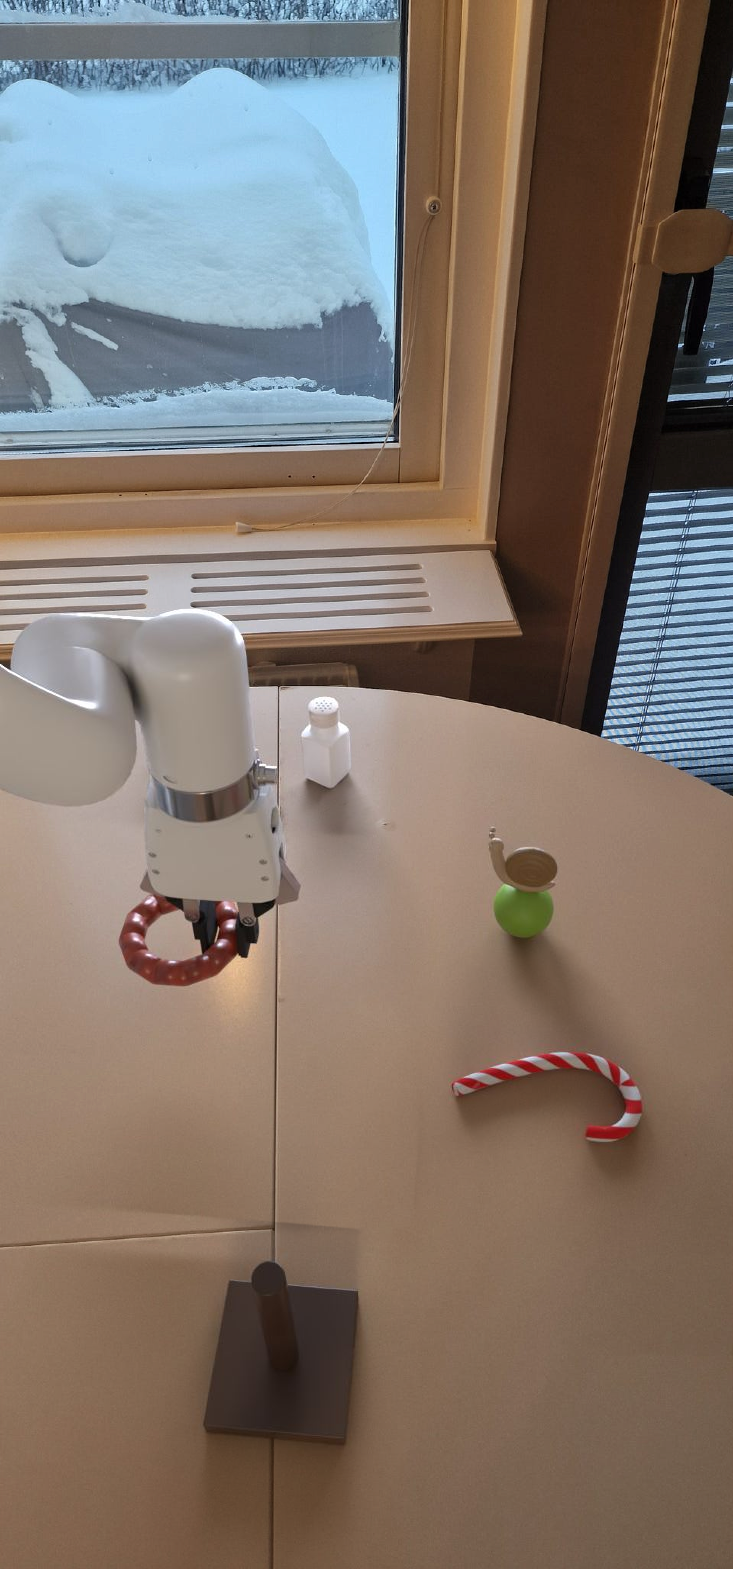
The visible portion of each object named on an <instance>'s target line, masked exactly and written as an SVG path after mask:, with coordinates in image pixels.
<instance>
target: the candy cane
mask: <svg viewBox="0 0 733 1569" xmlns="http://www.w3.org/2000/svg"><path fill="white" fill-rule="evenodd" d="M559 1069H580V1070H587V1071H592V1072H595V1073H598V1074H600V1075H602V1076H604V1077H606V1078H607V1079H609V1080H610V1081H611V1082H612V1083H614V1085H616V1087H617V1088H618V1090H619V1091H620V1093H621V1094H622V1097H623V1099H624V1104H625V1111H624V1114H623V1116H622V1118H621V1119H620V1120H619V1121H617V1122H616V1123H615V1124H612V1125H608V1126H599V1125H587V1127H586V1130H585V1135H584V1138H585V1139H586V1140H588V1141H591V1142H596V1143H609V1142H614V1141H619V1140H621V1139H623V1138H625V1137H627V1136H628V1135H630V1133H631V1132H633V1130H635V1128H636V1127H637V1126H638V1124H639V1122H640V1119H641V1117H642V1114H643V1102H642V1097H641V1093H640V1091H639V1089H638V1086H637V1085H636V1084H635V1082H634V1080H633V1079H632V1078H631V1076H630V1075H629V1074H628V1073H627V1072H626V1071H625V1070H624V1069H623V1068H621V1067H620V1066H619V1065H617V1064H616V1063H614V1062H613V1061H610V1060H609V1059H606V1058H604V1057H601V1056H599V1055H595V1054H591V1053H585V1052H577V1051H559V1052H558V1051H557V1052H550V1053H543V1054H537V1055H533V1056H529V1057H524V1058H520V1059H516V1060H512V1061H509V1062H505V1063H501V1064H498V1065H495V1066H492V1067H488V1068H485V1069H482V1070H479V1071H475V1072H474V1073H471V1074H468V1075H466V1076H463V1077H461V1078H458V1079H456V1080H454V1081H452V1083H451V1091H452V1093H453V1094H454V1095H455V1096H456V1097H461V1096H464V1095H467V1094H470V1093H473V1092H475V1091H478V1090H481V1089H483V1088H486V1087H490V1086H492V1085H495V1084H498V1083H502V1082H506V1081H509V1080H511V1079H516V1078H519V1077H523V1076H527V1075H532V1074H535V1073H540V1072H545V1071H551V1070H559Z"/></svg>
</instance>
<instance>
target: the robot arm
mask: <svg viewBox="0 0 733 1569" xmlns="http://www.w3.org/2000/svg"><path fill="white" fill-rule="evenodd" d="M249 678H250V677H249V668H248V658H247V651H246V646H245V640H244V639H243V635H242V634H241V632H240V630H239V629H238V627H237V626H236V625H235V624H234V623H233V622H232V621H230V619H229V618H227V617H225V616H223V615H221V614H219V613H216V612H213V611H210V610H205V609H198V608H183V609H176V610H171V611H166V612H163V613H160V614H158V615H156V616H152V617H144V616H143V617H141V616H123V615H109V614H99V613H98V614H97V613H96V614H95V613H83V612H82V613H81V612H67V613H66V612H65V613H62V612H61V613H56V614H50V615H45V616H43V617H40V618H38V619H35V620H34V621H32V622H30V623H29V624H28V625H26V626H25V627H24V628H23V629H22V630H21V632H19V635H18V636H17V637H16V639H15V641H14V643H13V646H12V651H11V657H10V669H8V668H7V667H5V666H3V665H2V664H0V790H1V791H4V792H6V793H8V794H11V795H14V796H16V797H19V798H21V799H25V800H28V801H32V802H36V803H40V804H44V805H49V806H55V807H56V806H57V807H64V808H69V807H70V808H71V807H72V808H73V807H74V808H75V807H76V808H77V807H84V806H90V805H94V804H97V803H100V802H102V801H105V800H107V799H109V798H110V797H111V796H113V795H115V794H116V793H117V792H118V791H119V790H121V789H122V788H123V786H124V785H125V784H126V782H127V781H128V779H129V778H130V776H131V774H132V772H133V769H134V766H135V763H136V759H137V758H136V757H137V755H138V754H137V752H138V746H137V744H138V741H137V728H136V727H137V726H136V722H137V723H138V725H139V726H140V732H141V738H142V742H143V743H142V744H143V748H144V753H145V758H146V764H147V768H148V773H149V780H148V782H147V787H146V790H145V799H144V812H143V815H144V816H143V831H144V832H143V833H144V836H143V837H144V851H145V852H144V853H145V861H146V862H145V863H146V869H145V871H144V873H143V876H142V878H141V881H140V884H139V888H140V890H141V891H143V892H145V893H148V894H150V895H151V894H154V895H156V896H159V897H162V896H163V897H165V899H166V900H167V901H168V902H169V903H171V904H172V905H174V906H175V907H177V908H179V909H180V910H179V911H182V912H183V915H184V919H185V920H186V921H187V922H190V923H191V925H192V927H191V928H192V933H193V937H194V940H195V941H199V944H200V949H201V954H204V953H205V952H206V951H207V950H208V949H209V948H210V947H211V946H212V945H213V944H214V943H215V942H216V940H217V936H218V932H219V927H218V925H217V916H216V910H215V903H214V901H227V902H233V903H236V907H237V911H238V915H237V920H236V924H235V934H236V941H237V949H238V954H237V956H238V957H240V958H241V959H247V958H248V957H249V953H250V949H251V944H252V945H253V944H256V945H257V944H258V941H259V937H260V923H259V918H260V917H261V916H263V915H264V914H266V913H268V912H269V911H270V910H272V909H273V908H274V907H275V906H277V905H278V906H281V905H285V904H289V903H293V902H296V901H298V900H299V897H300V891H301V888H302V886H301V883H300V881H298V879H297V878H296V876H295V875H294V874H293V872H292V871H291V870H290V868H289V867H288V865H287V864H286V863H287V846H286V839H285V838H286V837H285V833H284V826H283V822H282V818H281V813H280V809H279V805H278V801H277V798H276V794H275V791H274V789H273V786H277V784H278V778H279V769H278V766H276V765H275V766H274V765H273V766H272V765H268V763H263V762H262V760H261V759H259V749H256V743H255V732H254V722H253V711H252V701H251V700H252V699H251V691H250V681H249Z"/></svg>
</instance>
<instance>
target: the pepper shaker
mask: <svg viewBox="0 0 733 1569" xmlns="http://www.w3.org/2000/svg"><path fill="white" fill-rule="evenodd" d="M307 711H308V712H307V713H308V723H309V724H308V725H307V727H305V729H304V730H303V731H302V732H301V735H300V742H301V754H302V755H301V756H302V767H303V775H304V777H305V778H306V779H308V780H310V781H313V782H315V783H316V784H319V785H321V786H323V787H325V788H328V789H333V788H334V787H335V786H337V784H338V783H339V782H341V780H343V779H344V778H345V777H346V776H347V775H348V774H349V773H350V771H351V769H352V762H351V761H352V760H351V743H350V742H351V740H350V738H351V737H350V730H349V728H348V726H347V725H344V724H343V723H341V722H340V718H341V717H340V706H339V702H338V701H337V700H335V698H334V697H329V696H320V697H316V698H314V699H312V700H310V701H309V703H308V705H307Z"/></svg>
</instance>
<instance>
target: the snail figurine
mask: <svg viewBox="0 0 733 1569" xmlns="http://www.w3.org/2000/svg"><path fill="white" fill-rule="evenodd" d="M496 830H497V829H496V828H495V826H490V828H489V833H488V838H490V839H489V841H488V842H487V846H488V847H487V848H488V851H489V853H490V859H491V863H492V867H493V870H494V872H495V875H496V876H497V878H498V879H499V881H501V882H502V883H503V885H502V886H500V888H499V889H498V891H497V892H496V895H495V897H494V900H493V914H494V917H495V920H496V922H497V923H498V925H499V926H500V928H502V930H504V931H505V932H506V933H508V934H509V935H511V936H514V937H516V938H517V937H518V938H530V937H531V938H532V937H534V936H537V935H538V934H539V935H540V933H542V932H543V931H544V930H545V929H546V928H547V927H548V926H549V925H550V923H551V921H552V918H553V917H554V916H553V915H554V908H555V906H554V901H553V897H552V895H551V893H550V891H549V890H550V889H552V888H553V887H555V886H556V882H555V881H553V880H554V879H555V878H556V876H557V874H558V868H559V867H558V864H557V861H556V859H555V858H554V856H553V855H552V854H551V853H549V852H548V851H547V850H544V849H542V848H540V847H536V846H522V847H519V848H516V849H514V850H513V851H512V852H510V853H509V854H508V855H507V857H506V859H505V857H504V856H505V855H504V849H505V843H504V841H502V839H500V838H498V837H495V835H496V834H495V833H496Z"/></svg>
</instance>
